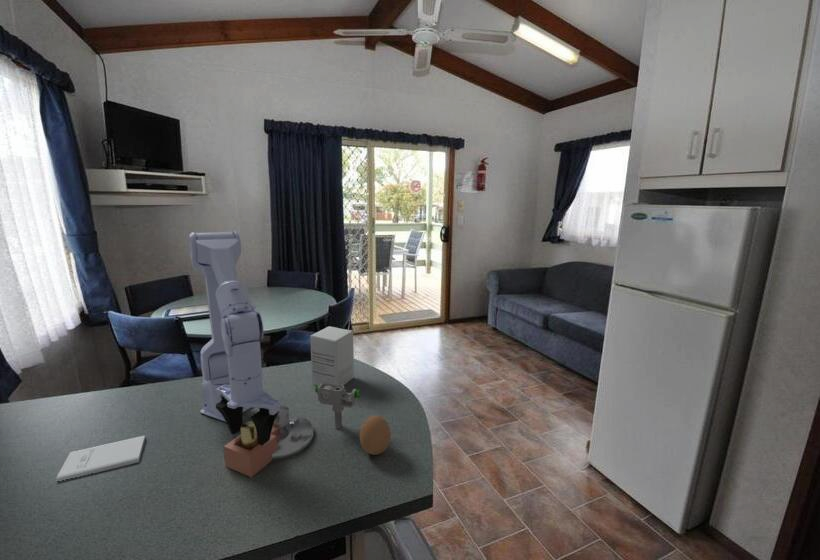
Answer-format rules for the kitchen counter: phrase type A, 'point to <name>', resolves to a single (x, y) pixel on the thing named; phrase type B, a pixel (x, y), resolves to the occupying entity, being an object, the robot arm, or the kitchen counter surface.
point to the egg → (375, 435)
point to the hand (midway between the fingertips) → (250, 437)
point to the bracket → (251, 454)
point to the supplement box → (332, 356)
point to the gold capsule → (248, 435)
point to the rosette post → (291, 434)
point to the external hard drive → (102, 458)
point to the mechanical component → (336, 399)
